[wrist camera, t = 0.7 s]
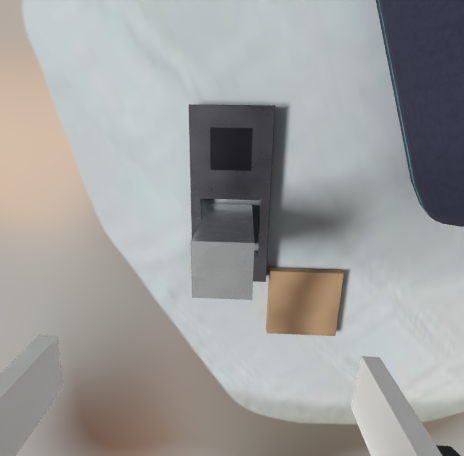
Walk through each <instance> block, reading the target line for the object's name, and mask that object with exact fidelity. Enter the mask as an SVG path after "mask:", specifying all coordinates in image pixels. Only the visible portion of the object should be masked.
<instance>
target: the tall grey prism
mask: <svg viewBox="0 0 464 456" xmlns="http://www.w3.org/2000/svg"><path fill="white" fill-rule="evenodd" d="M253 265H254V229H253V213H252V204H218V203H210V204H209V206H208V208H207V210H206V212H205V214H204V216H203V218H202V220H201V222H200V224H199V226H198V228H197V230H196V232H195V234H194V236H193V238H192V240H191V270H192V297H193V298H219V299H245V300H252V291H253Z"/></svg>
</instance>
